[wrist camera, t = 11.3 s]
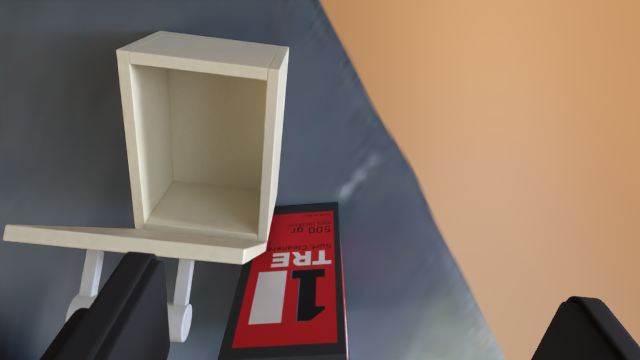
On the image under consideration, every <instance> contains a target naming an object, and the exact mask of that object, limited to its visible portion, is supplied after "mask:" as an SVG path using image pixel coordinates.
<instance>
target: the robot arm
mask: <svg viewBox="0 0 640 360" xmlns="http://www.w3.org/2000/svg"><path fill="white" fill-rule="evenodd" d="M169 348H170V335H169V321H168V307H167V293H166V279H165V265H164V262H163V261H157V257H156V255H155V254H153V253H143V252H133V251H129V252H127V253H126V254H125V255H124V257H123V258H122V260H121V261H120V263H119V264H118V266H117V267H116V269H115V270H114V272H113V273H112V275H111V276H110V278H109V279H108V281H107V282H106V284H105V285H104V287H103V288H102V290H101V291H100V293H99V294H98V296H97V297H96V298H95V300H94V301H93V303H92V304H91V306H90V307H89V308H79V309H78V310H76V311H75V312H74V313H73V314H72V315H71V316H70V318H69V319H68V321H67V322H66V323H65V325H64V326H63V328H62V329H61V330H60V332H59V333H58V335H57V336H56V337H55V339H54V340H53V342H52V343H51V344H50V346H49V347H48V349H47V350H46V351H45V353H44V354H43V356H42V357H41V359H40V360H167V357H168V353H169ZM531 360H640V347H639V345H638V344H637V343H636V342H635V340H634V339H633V338H632V337H631V336H630V334H629V333H628V332H627V331H626V329H625V328H624V327H623V326H622V324H621V323H620V322H619V321H618V319H617V318H616V317H615V316H614V315H613V313H612V312H611V311H610V310H609V308H608V307H607V306H606V305H605V304H604V303H603V302H602V301H601V300H599V299H597V298H587V297H577V296H572V297H570V298H569V299H568V300H567V301H566V302H563V303H561V305H560V306H559V308H558V310H557V312H556V314H555V316H554V318H553V319H552V321H551V323H550V325H549V327H548V329H547V331H546V333H545V334H544V336H543V338H542V340H541V342H540V344H539V346H538V348H537V350H536V351H535V354H534V355H533V357H532V359H531Z"/></svg>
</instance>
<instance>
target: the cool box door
mask: <svg viewBox="0 0 640 360" xmlns="http://www.w3.org/2000/svg"><path fill="white" fill-rule="evenodd" d="M3 240H4V241H13V242H23V243H32V244H42V245H52V246H62V247H72V248H82V249H87V252H86V257H85V263H84V269H83V274H82V280H81V286H80V291H79V294H78V295H76V296H75V297H74V299H73V300H72V301H71V303H70V305H69V308H68V311H67V314H66V322H67V321H68V319H69V318H70V316H71V315H72V314H73V313H74V312H75V311H76V310H78V309H79V308H89V307H90V306H91V304H92V303H93V301H94V300H95V298H96V297H97V296H98V295H97V292H98V286H99V281H100V275H101V269H102V263H103V257H104V251H112V252H122V253H127V252H129V251H133V252H143V253H153V254H155V255H156V256H161V257H171V258H180V259H179V266H178V272H177V279H176V286H175V293H174V300H173V302H167V307H168V321H169V335H170V341H173V342H184V341H185V340H186V338H187V336H188V333H189V329H190V325H191V319H192V306H191V304H189V297H190V290H191V283H192V276H193V269H194V262H195V260H201V261H211V262H221V263H231V264H241V265H242V264H244V263H246V262H248V261H250V260H251V259H253V258H255V257H256V256H258V255H260V254H262V253H263V252H265V251H266V246H267V243H266V242H257V241H248V240H238V239H228V238H219V237H209V236H199V235H190V234H180V233H171V232H161V231H151V230H142V229H127V228H98V227H69V226H40V225H11V224H8V225H6V227H5V231H4V236H3Z"/></svg>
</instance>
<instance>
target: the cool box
mask: <svg viewBox="0 0 640 360" xmlns="http://www.w3.org/2000/svg"><path fill="white" fill-rule="evenodd" d="M116 53H117V62H118V71H119V81H120V90H121V99H122V109H123V118H124V127H125V137H126V146H127V155H128V165H129V174H130V183H131V193H132V202H133V211H134V221H135V229H142V230H151V231H161V232H171V233H180V234H190V235H199V236H209V237H219V238H228V239H238V240H248V241H257V242H266V243H267V241H268V236H269V231H270V226H271V221H272V216H273V212H274V207H275V202H276V197H277V188H278V176H279V164H280V152H281V140H282V128H283V116H284V104H285V92H286V80H287V67H288V55H289V47H285V46H277V45H269V44H261V43H253V42H245V41H237V40H229V39H221V38H213V37H205V36H198V35H190V34H182V33H174V32H166V31H158V32H156V33H154V34H151V35H149V36H147V37H144V38H142V39H140V40H138V41H135V42H133V43H131V44H129V45H126V46H124V47H122V48H119V49H117V50H116Z"/></svg>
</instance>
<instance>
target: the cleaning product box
mask: <svg viewBox="0 0 640 360" xmlns="http://www.w3.org/2000/svg"><path fill="white" fill-rule="evenodd" d="M218 360H350V359H349V343H348V326H347V310H346V298H345V285H344V273H343V260H342V247H341V235H340V222H339V210H338V202H333V203H319V204H304V205H290V206H276V207H274V212H273V216H272V221H271V226H270V231H269V236H268V241H267V246H266V251H265V252H263V253H262V254H260V255H258V256H256V257H255V258H253V259H251V260H250V261H248V262H246V263H244V264H243V267H242V270H241V274H240V278H239V282H238V285H237V289H236V293H235V297H234V300H233V304H232V308H231V312H230V315H229V319H228V323H227V326H226V330H225V334H224V338H223V341H222V345H221V349H220V353H219V356H218Z"/></svg>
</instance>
